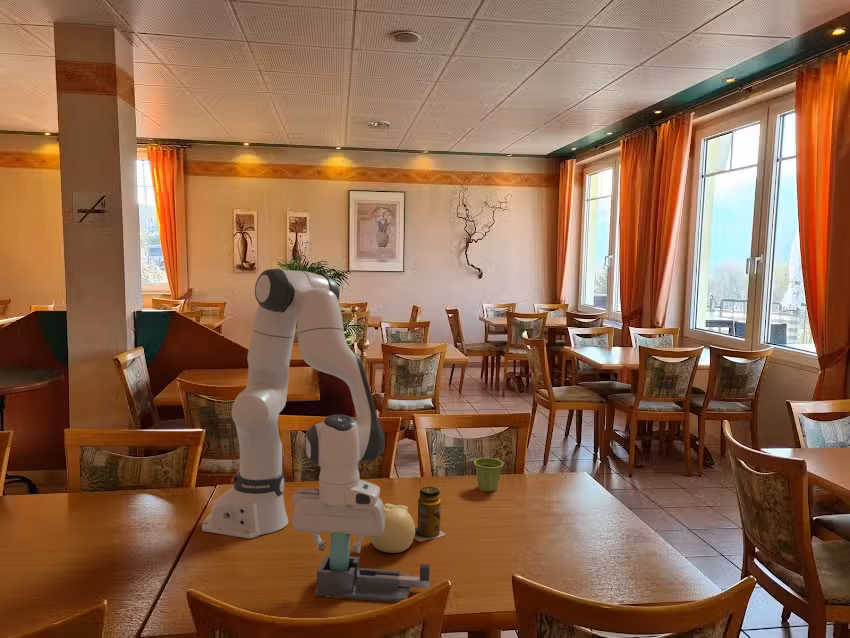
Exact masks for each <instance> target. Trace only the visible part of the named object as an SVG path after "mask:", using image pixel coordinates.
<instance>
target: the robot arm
mask: <svg viewBox="0 0 850 638" xmlns="http://www.w3.org/2000/svg"><path fill="white" fill-rule="evenodd" d="M254 286H255V287H254V296H255V300H256V302H257V304H258V307H257V310H256V313H255V316H254V319H253V324H252V328H251V335H250V342H249V347H248V352H247V357H246V359H247V364H248V370H247V371H248V373H247V374H248V376H247V384H246V387H245V389H243V390H242V391H241V392H239V394H238V395H237V396H236V397H235V399H234V402H233V404H232V408H231V418H232V420H233V422H234V423H235V428H236V433H237V434H236V435H237V438H238V439H237V440H238V445H239V469H238V470H237V471H236V474H234V475H233V477H232V479H231V480H230V481H231V482H230V484H231V485H233V486H232V487H231V488H229V489H228V490H227V491H225V492H224V493H222V495H221V496H219V497H218V498H217V499H216V500H215V502H214V504H213V505H212V509H211V513H210V514H209V515H208V516H206V518H205V519H204V520H203V521H202V523H201V531H202V532H206V533H211V534H213V533H214V534H219V535H225V536H231V537H238V538H243V539H254V538H256V537H259V536H262V535H266V534H270V533H274V532H277V531H280V530H281V529H283V528H285V527H286V526H287V525H288V524H289V517H288V515H287V511H286V506H285V501H284V500H285V499H284V491H285V475H284V472H285V471H283V443H282V441H281V437H280V432H279V424H278V423H279V422H278V421H279V420H278V418H279V414H280V413H281V412H282V411H283V410H284V408H285V407H286V403H287V400H288V399H287V396H288V388H289V376H290V372H289V371H290V361H291V358H292V352H293V351H292V350H293V345H294V339H295V335H296V329H297V345H298V351H299V353H300V357H301V358H302V360H303V361H304V362H305V363H306V364H307V365H308V366H309V367H311V368H313V369H314V370H316V371H319V372H322V373H325V374H328V375H331V376H333V377H336V378H338V379H340V380H342V381H343V382H345V384H346V385H347V386H348V388H349V391H350V393H351V399H352V403H353V406H354V410H355V413H356V419H355V418H354V417H352V416H349V415H347V414H346V415H345V414H342V413H341V414H332V415H328V416H326V417H325V418H323V420H322V421H321V422H318V423H315V424H312V425H311V426H310V427H309V428H308V429H307V431H306V432H305V434H304V454H305V455H304V456H305V458H306V459H307V460H308V461H309V462H311V463H312V464H313V465H315V466H316V467H317V466H319V467H320V472H319V476H318V488H307V487H306V488H305V487H301V488H299V489H297V490H295V491H294V492H293V494H292V504H293V506H294V508H293V514H292V515H293V516H292V528H293V529H294V530H295V531H296V532H307V533H308V532H309V533H311V537H312V539H313V540H314V542H315V544H316V551H319V552H320V551H322V552H324V550H325V549H326V540H324V539H322V538H321V536H320V533H325V534H331V533H333V532H337V533H345V534H350V535H357V539H358V541H354V542H353V544H352V553H354V554H360V553H361V549H362V547H361V546H362V543H363V542H364V540H365V539H366V536H369V535H373V536H380V535H381V534H382V533H383V531H384V528H385V513H384V506H383V505H384V503H383V501H382V499H381V498H380V495H381V488H380V486H379V485H377V484H374V483H372V482H369V481H367V480H363V479H361V478H360V471H359V463H372V462H375V461H376V459H378V457H380V455H381V454H382V453H383V451H384V450H385V445H386V442H385V435H384V434H385V433H384V430H383V428H382V424H381V422H380V420H379V419H380V418H379V417H378V414H377V410H376V407H375V403H374V400H373V396H372V392H371V388H370V385H369V380H368V377H367V375H366V374H367V373H366V370H365V367H364V365H363V362H362V358H361V357H360V355H359V354H358V353H356V352H354V351H353V350H352V349H351V347H350V346H349V344H348V342H347V340H346V337H345V329H344V321H343V316H342V310H341V306H340V303H339V301H340V288H339V285H338V282H337V280H335V279H333V278H332V277H330V276H327V275H324V274H317V273H314V272H310V271H305V270H291V269H290V270H289V269H281V268H270V269H269V268H268V269H266V270H263V271H262V272H261V273H260V274H259V276H258V278H257V279H256V282H255V285H254Z"/></svg>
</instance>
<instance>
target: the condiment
mask: <svg viewBox="0 0 850 638" xmlns="http://www.w3.org/2000/svg"><path fill="white" fill-rule="evenodd" d="M441 505H442V501H441V498H440V489H439V488H437V487H435V486H424V487H422V488H420V490H419V498H418V499H417V527H415V536H414V539H415V540H416V541H418V542H419V543H420V542H421V543H422V542H425V541H428V540H431V539H436V538H437V539H438V538H440V537H442V536H443V537H444V536H446V535H447V533H446V532H443V531H442V530H441Z"/></svg>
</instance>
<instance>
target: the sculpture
mask: <svg viewBox="0 0 850 638" xmlns="http://www.w3.org/2000/svg"><path fill="white" fill-rule="evenodd" d="M383 506H384V513H385V528H384V531H383V533H382V534H381V535H380V536H373V535H368V536H369V539H370V541H371V543H372V545H373V546H374V548H375V549H376V550H378V551H381V552H384V553H390V554H394V553H395V554H396V553H397V554H398V553H401V552H404V551H406V550H407V549H409V548H410V547H411V545H412V544H413V542H414V539H415V538H414V536H415V528H416V525H415V521H414V519H413V517H412V516H411V514H410V513H409V507H408V506H407V505H401V504H397V505H396V504H392V503H385V504H384V503H383Z"/></svg>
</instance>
